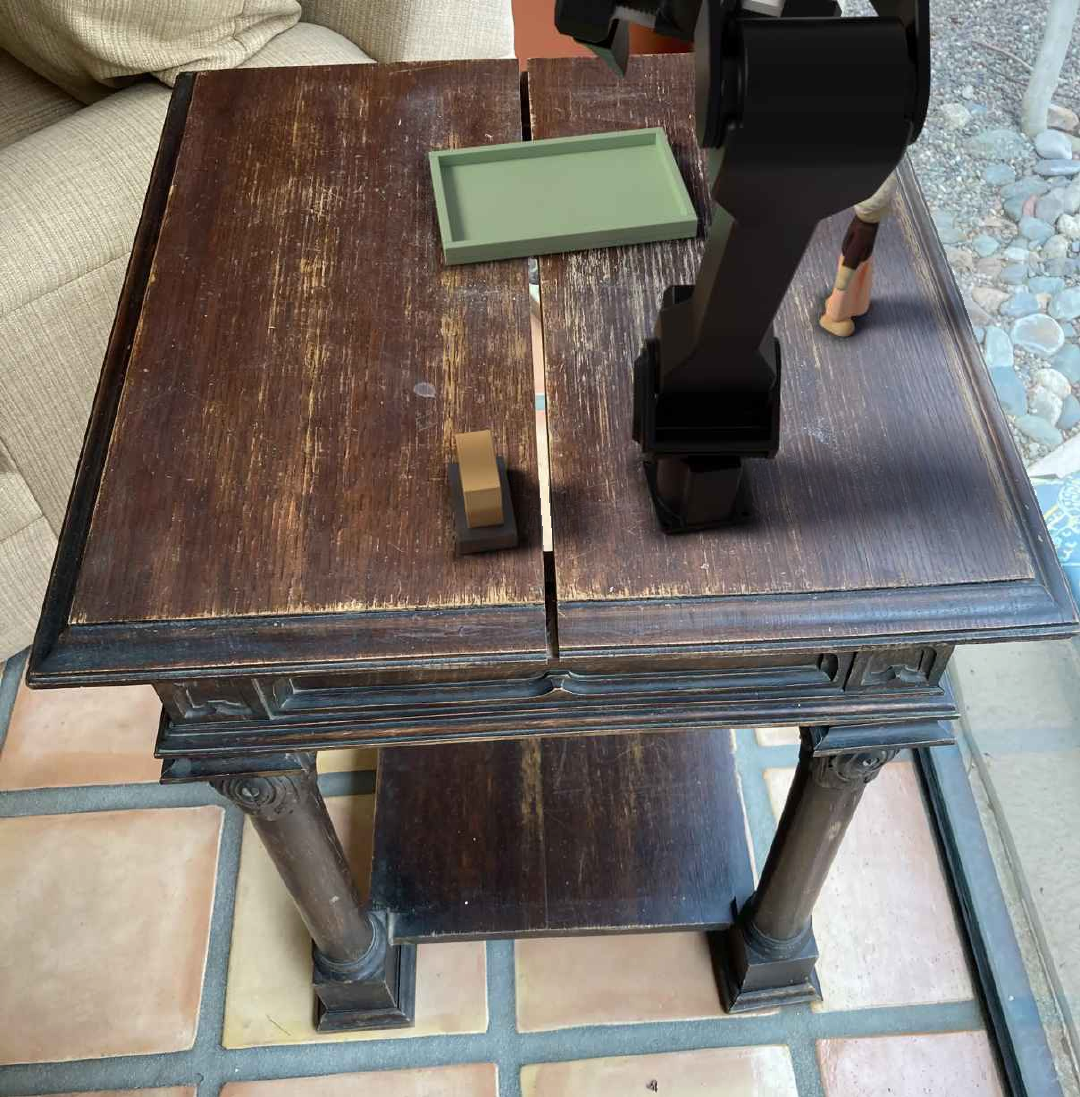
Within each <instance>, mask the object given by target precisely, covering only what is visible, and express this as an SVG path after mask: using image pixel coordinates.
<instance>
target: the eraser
mask: <svg viewBox="0 0 1080 1097" xmlns="http://www.w3.org/2000/svg"><path fill="white" fill-rule="evenodd" d="M492 433H493V432H492V430H491V429H485V430H478V431H469V432H463V433H455V443H456V450H457V460H458V461H451V462H447V463H446V464H447V471H448V472H447V473H448V478H449V486H450V492H451V493H450V494H451V500H452V506H453V515H454V523H455V528H456V537H457V543H458V550H459V554H460V555H466V554H473V553H479V552H489V551H495V550H501V549H510V548H517V547H519V540H518V539H519V538H518V537H519V536H518V530H517V523H516V519H515V513H514V508H513V501H512V498H511V491H510V485H509V480H508V474H507V469H506V463H505V456H504V455H496V451H495V447H494V445H495V444H494V439H493V434H492Z"/></svg>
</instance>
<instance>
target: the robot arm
mask: <svg viewBox="0 0 1080 1097" xmlns="http://www.w3.org/2000/svg"><path fill="white" fill-rule="evenodd" d="M868 2H869V3H870V5H871V6H872V9H874V11H875V13H876V14H877V15H867V16H865V15H862V16H861V15H860V16H842V14H843V9H842V7H841V6H840V3H839V0H783V2H782V6H776V5H772V4H768V3H764V2H761V1H757V0H555V2H554V9H553V25H554V27H555V28H556V30H557V33H559V35H562V36H565V37H566V36H567V37H571V38H572V39H573V41H574V42H575V43H576V44H579V45H581V46H585V47H586V48H587V49H588V50H590V51H591V52H592V53H593V54H594V55H596V56H597V57H598V58H599V59H600V60H601V61H603V62H604V63H605V64H606V66H608V68H609V69H610V70H611V71H612V72H613V73H614V74H615V75H616V76H617V77H618V78H620V79H625V76H626V73H627V70H628V67H629V59H630V54H631V52H630V50H631V49H630V23H632V24H636V25H640V26H644V27H648V28H653V31H652V34H654V35H657V36H661V37H665V38H669V39H673V40H678V41H682V42H686V43H688V44H693V45H694V46H693V47H694V113H695V115H694V118H695V121H694V122H695V123H694V124H695V137H696V144H697V147H698V148H699V150H707V156H708V176H709V177H708V178H709V197H710V198H711V200H713V201H714V202H715V203H716V207H715V212H714V215H713V218H712V222H711V226H710V229H709V233H708V235H707V236H708V237H707V240H706V244H705V246H704V251H703V254H702V257H701V262H700V265H699V267H698V268H699V269H698V272H697V277H696V280H695V283H694V284H670V285H669V286H668V287H667V288H666V289H664V291H663V293H662V298H661V303H660V304H661V305H660V308H659V310H658V312H657V314H658V315H657V316H658V317H657V319H656V322H655V324H654V328H653V334H652V335H653V336H652V337H645V338H644V339H643V346H642V347H640V352H639V356H638V357H636V359H635V360H634V361H633V370H632V371H633V372H632V374H633V375H632V376H633V377H632V378H633V379H632V417H631V418H632V420H631V431H630V432H631V440H633V441H634V442H636V443H637V444H638V445H639V447H640V449H641V454H643V460H642V462H641V468H642V473H643V477H644V480H645V483H646V487H647V491H648V494H649V497H650V501H651V505H652V509H653V513H654V517H655V520H656V523H657V526H658V530H659V532H661V533H663V534H674V533H675V534H676V533H681V532H688V531H696V530H703V529H710V528H711V529H712V528H716V527H725V526H733V525H739V524H747V523H749V522H750V521H751V520H752V517H753V512H752V509H751V506H750V503H749V500H748V497H747V495H746V492H745V491H746V490H745V489H744V486H743V483H742V479H741V478H742V473H743V468H744V464H745V460H746V459H748V460H749V459H764V460H765V461H766V460H767V461H772V460H774V459H775V457H776V455H777V454H778V452H779V449H780V436H781V435H780V434H781V432H780V430H781V427H780V426H781V396H782V395H781V394H782V348H781V342H780V339H779V337H778V336H775V329H774V328H775V327H774V321H775V319H776V317H777V314H778V312H779V309H780V307H781V306H782V303H783V301H784V299H785V296H786V295H787V293H788V290H789V288H790V286H791V284H792V282H793V279H794V278H795V275H796V274H797V272H798V269H799V267H800V265H801V263H802V261H803V258H804V256H805V254H806V251H807V250H808V248H809V246H810V244H811V241H812V239H813V237H814V234H815V233H816V230H817V229H818V226H819V225H820V223H821V221H824V220H826V219H827V218H830V217H832V216H834V215H836V214H838V213H841V212H843V211H845V210H848V209H849V208H852V207H854V205H857V204H859V203H861V202H863V201H865V200H868V199H870V198H871V197H872V196H873V195H874V194H875V193H876V192H877V191H878V190H879V189H880V187H881V186H882V185H883V183H884V182H885V181H886V180H887V178H888V177H891V175H892V173H893V172H894V171H895V170H896V168H897V167H898V166H900V163H901V161H902V160H903V159H904V156H905V154H906V152H907V150H908V147H911V146H912V145H913V144H915V143H916V142H917V140H918V139H919V138H920V136H921V135H920V134H922V131H923V128H924V125H925V121H926V118H927V115H928V110H929V104H930V99H931V98H930V96H931V85H932V84H931V83H932V62H931V61H932V59H931V58H932V57H931V56H932V55H931V54H932V53H931V14H930V13H931V9H930V8H931V6H930V2H931V0H868ZM744 515H745V516H744Z"/></svg>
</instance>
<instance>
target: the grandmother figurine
mask: <svg viewBox="0 0 1080 1097" xmlns="http://www.w3.org/2000/svg"><path fill="white" fill-rule="evenodd" d="M898 186H899V184H898V182H897V180H896V179H895V178H894V177H891V176H889V177H888V178H887V180H886V181H885V182H884V183H883V185H882V186H881V187H880V189H879V190H878V191H877V192H876V193H875V194H874V195H873V196H872V197H871V198H870V199H868V200H865V201H863V202H861V203H859V204H857V205H854V206H853V207H854V211H855V215H854V217H853V218H852V220H851V221H850V224H849V226H848V228H847V230H846V233H845V235H844V236H843V240H842V242H841V249H840V251H841V253H840V255H839V259H838V260H839V262H838V266H837V267H838V268H837V275H836V279H835V282H834V288H833V291H832V294H831V295H830V296H829V297H828V298H827V299H826V300H825V303H824V307H825V309H826V310H825V313H824V314H823V315H822V316H821V318H820V319H819V325H820V326H821V327H822V328H823V329H825V330H826V331H828V332H830V333H832V334H834V335H835V336H838V337H843V338H844V337H848V336H850V335H852V333H853V332H854V331H855V324H854V321H853V320H852V319H851V318H852V317H853V316H862V315H864V314H865V313H867V311H868V310H869V305H870V301H871V295H872V289H873V288H872V287H873V272H874V248H875V244H876V239H877V235H878V232H879V229H880V224H881V221H883V220H884V219H885V218H886V217H887V216H888V215H889V213H890V212H891V209H892V206H893V199H892V197H894V194H896V193H897V190H898Z"/></svg>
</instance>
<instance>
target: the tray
mask: <svg viewBox="0 0 1080 1097" xmlns="http://www.w3.org/2000/svg"><path fill="white" fill-rule="evenodd" d="M428 158H429V168H430V175H431V180H432V186H433V194H434V199H435V205H436V212H437V219H438V224H439V230H440V236H441V243H442V249H443V255H444V260H445V266H455V265H464V264H471V263H472V264H473V263H480V262H481V263H482V262H490V261H498V260H507V259H515V258H525V257H533V256H542V255H550V254H558V253H566V252H567V253H568V252H575V251H583V250H593V249H601V248H609V247H617V246H618V247H619V246H627V245H636V244H645V243H652V242H661V241H670V240H671V241H672V240H679V239H686V238H695V237H697V233H698V232H697V231H698V223H699V218H698V215H697V213H696V210H695V207H694V205H693V203H692V200H691V197H690V194H689V193H688V189H687V187H686V185H685V182H684V179H683V177H682V174H681V172H680V169H679V166H678V164H677V161H676V159H675V156H674V153H673V150H672V148H671V146H670V143H669V140H668V137H667V135H666V133H665V130H664V127H663V126H657V127H648V128H639V129H630V130H620V131H610V132H601V133H591V134H583V135H573V136H564V137H555V138H554V137H553V138H545V139H537V140H536V139H535V140H528V141H518V142H507V143H501V144H491V145H482V146H472V147H461V148H453V149H452V148H451V149H444V150H437V151H436V150H435V151H428Z"/></svg>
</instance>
